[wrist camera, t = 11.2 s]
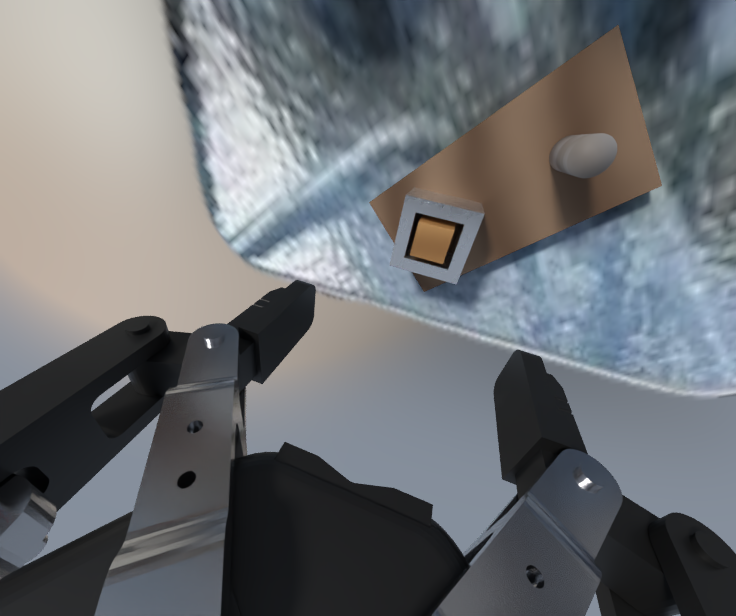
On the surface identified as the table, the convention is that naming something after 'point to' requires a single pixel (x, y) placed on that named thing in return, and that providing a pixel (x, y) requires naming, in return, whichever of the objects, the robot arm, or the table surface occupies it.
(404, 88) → the table surface
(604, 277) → the table surface
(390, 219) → the stand board
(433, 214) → the collar
